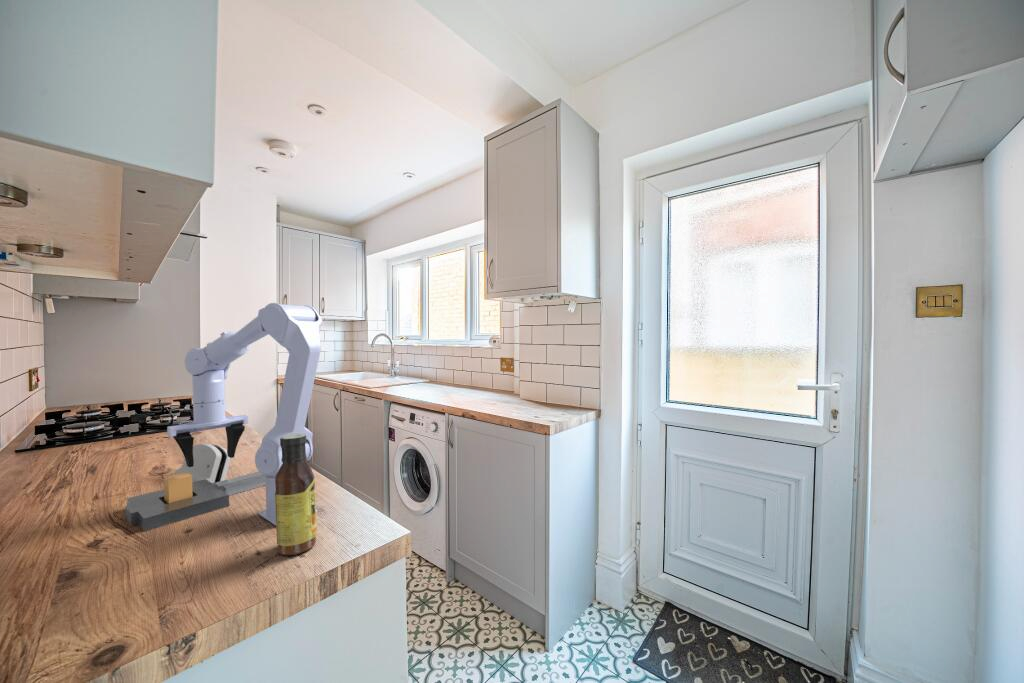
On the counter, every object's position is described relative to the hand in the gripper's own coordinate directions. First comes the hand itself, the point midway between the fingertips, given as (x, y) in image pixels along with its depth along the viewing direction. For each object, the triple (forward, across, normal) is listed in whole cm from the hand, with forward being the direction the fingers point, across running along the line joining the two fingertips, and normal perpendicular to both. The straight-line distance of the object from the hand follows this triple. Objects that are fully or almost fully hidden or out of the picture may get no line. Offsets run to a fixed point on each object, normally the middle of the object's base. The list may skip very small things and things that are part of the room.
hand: (211, 461), depth 89 cm
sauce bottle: (+10, -2, +36) cm, 37 cm away
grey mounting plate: (+9, 0, -2) cm, 10 cm away
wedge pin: (+9, +5, -2) cm, 11 cm away
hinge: (+10, -4, -20) cm, 22 cm away
